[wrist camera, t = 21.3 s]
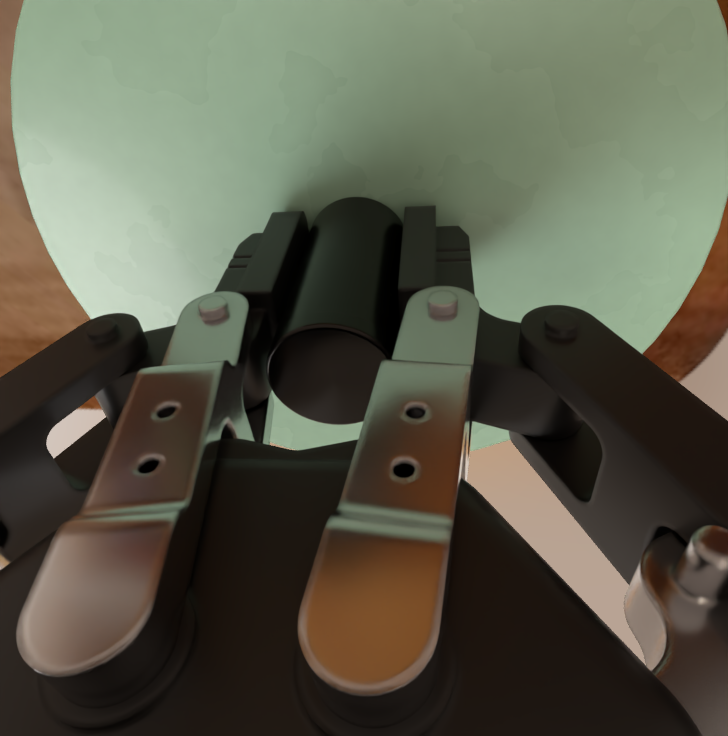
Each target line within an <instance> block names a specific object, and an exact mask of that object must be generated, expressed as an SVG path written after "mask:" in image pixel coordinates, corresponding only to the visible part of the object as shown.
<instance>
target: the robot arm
mask: <svg viewBox="0 0 728 736" xmlns="http://www.w3.org/2000/svg"><path fill="white" fill-rule="evenodd" d="M308 235H309V229H308V223H307V218H306V215H305V213H304V211H291V212H273V213H272V214H271V216H270V218H269V220H268V223H267V225H266V227H265V229H264V231H263V233H253V234H251V235H250V236H249V237H247V238H246V239H245V240H244V241H242V242H241V243H240V244H239V245H238V247H237V249H236V251H235V253H234V255H233V259H231V261H230V262H229V264H228V268H226V270H225V272H224V274H223V276H222V278H221V280H220V282H219V284H218V286H217V288H216V290H215V291H214V292H213V293H209V294H206V295H203V296H200V297H198V298H196V299H194V300H192V301H191V302H190V303H188V304H187V305H186V306H185V307H184V308H183V309H182V311H181V313H180V316H179V318H178V321H177V324H176V325H173V326H169V327H164V328H159V329H155V330H150V331H146V332H143V329H142V327H141V325H140V322H139V320H138V319H137V318H136V317H135V316H133V315H130V314H126V313H112V314H106V315H102V316H99V317H96V318H94V319H91V320H89V321H87V322H85V323H84V324H82V325H80V326H79V327H77V328H76V329H74V330H73V331H71V332H70V333H68V334H67V335H65V336H64V337H62V338H60V339H59V340H57V341H56V342H54V343H53V344H51V345H50V346H48V347H47V348H45V349H44V350H42V351H40V352H39V353H37V354H36V355H34V356H33V357H31V358H30V359H28V360H27V361H25V362H24V363H22V364H20V365H19V366H17V367H16V368H14V369H13V370H11V371H10V372H8V373H7V374H5V375H4V376H2V377H1V378H0V736H728V421H727V420H726V419H725V418H723V417H722V416H721V415H719V414H718V413H717V412H715V411H714V410H713V409H712V408H710V407H709V406H708V405H707V404H705V403H704V402H703V401H701V400H700V399H699V398H698V397H696V396H695V395H694V394H692V393H691V392H690V391H689V390H687V389H686V388H685V387H684V386H682V385H681V384H680V383H678V382H677V381H676V380H675V379H673V378H672V377H671V376H669V375H668V374H667V373H666V372H664V371H663V370H662V369H660V368H659V367H658V366H657V365H655V364H654V363H653V362H652V361H650V360H649V359H648V358H646V357H645V356H644V355H643V354H641V353H640V352H639V351H637V350H636V349H635V348H634V347H632V346H631V345H630V344H628V343H627V342H626V341H625V340H623V339H622V338H621V337H619V336H618V335H617V334H616V333H614V332H613V331H612V330H611V329H609V328H608V327H607V326H605V325H604V324H603V323H602V322H600V321H599V320H598V319H596V318H595V317H594V316H592V315H591V314H589V313H588V312H586V311H584V310H581V309H578V308H575V307H571V306H565V305H547V306H542V307H538V308H535V309H533V310H531V311H529V312H528V313H527V314H526V315H525V316H524V317H523V318H522V321H521V323H519V322H514V321H508V320H504V319H500V318H497V317H495V316H493V315H490V314H489V313H487V312H485V311H484V310H483V309H482V308H481V307H480V306H479V301H478V299H477V298H476V297H475V292H474V282H473V272H472V262H471V252H470V242H469V236H468V235H467V234H466V233H465V232H464V231H463V230H462V229H461V228H460V227H459V226H436V205H434V206H411V207H405V210H404V222H403V234H402V246H401V258H400V270H399V282H398V298H399V315H400V331H399V334H398V338H397V342H396V345H395V349H394V353H393V356H392V359H383V360H382V362H381V364H380V367H379V371H378V374H377V377H376V381H375V384H374V387H373V391H372V394H371V398H370V401H369V404H368V408H367V411H366V415H365V418H364V421H363V425H362V428H361V432H360V435H359V438H358V440H352V441H347V442H341V443H336V444H331V445H325V446H320V447H315V448H310V449H304V450H289V449H284V448H280V447H276V446H271V445H269V444H270V436H271V428H272V420H273V412H274V399H273V395H272V392H271V391H272V389H271V387H270V385H269V382H268V379H267V374H266V360H267V356H268V353H269V350H270V347H271V344H272V341H273V338H274V335H275V332H276V329H277V326H278V323H279V320H280V318H281V315H282V312H283V309H284V306H285V303H286V300H287V297H288V294H289V291H290V288H291V285H292V282H293V279H294V276H295V274H296V271H297V268H298V265H299V262H300V259H301V256H302V253H303V250H304V247H305V244H306V241H307V238H308ZM94 395H95V397H96V399H97V400H98V402H99V404H100V406H101V408H102V410H103V411H104V413H105V415H106V418H104V419H103V420H102V421H101V422H99V423H98V424H97V425H96V426H94V427H93V428H92V429H91V430H89V431H88V432H87V433H86V434H84V435H83V436H82V437H81V438H79V439H78V440H77V441H75V442H74V443H73V444H72V445H71V446H69V447H68V448H67V449H65V450H64V451H63V452H62V453H61V454H59V455H58V456H57V457H56V458H54V459H53V457H52V456H51V454H50V453H49V451H48V449H47V446H46V440H47V436H48V434H49V432H50V430H51V429H52V428H53V427H54V426H55V425H56V424H57V423H58V422H60V421H61V420H62V419H64V418H65V417H66V416H68V415H69V414H70V413H72V412H73V411H74V410H76V409H77V408H78V407H80V406H81V405H82V404H84V403H85V402H86V401H88V400H89V399H90V398H92V397H93V396H94ZM473 422H477V423H481V424H485V425H489V426H493V427H497V428H500V429H504V430H508V431H509V437H510V439H511V441H512V443H513V444H514V445H515V447H516V448H517V449H518V450H519V452H520V453H521V454H522V455H523V456H524V458H525V459H526V460H527V461H528V462H529V464H530V465H531V466H532V467H533V468H534V470H535V471H536V472H537V473H538V475H539V476H540V477H541V478H542V480H543V481H544V482H545V483H546V484H547V486H548V487H549V488H550V489H551V491H553V493H554V494H555V495H556V496H557V498H558V499H559V500H560V501H561V503H562V504H563V505H564V506H565V507H566V509H567V510H568V511H569V512H570V514H571V515H572V516H573V517H574V519H575V520H576V521H577V522H578V523H579V524H580V526H581V527H582V528H583V529H584V531H585V532H586V533H587V534H588V536H589V537H590V538H591V539H592V540H593V542H594V543H595V544H596V545H597V546H598V548H599V549H600V550H601V551H602V553H603V554H604V555H605V556H606V557H607V559H608V560H609V561H610V562H611V563H612V565H613V566H614V567H615V568H616V570H617V571H618V572H619V573H620V574H621V576H622V577H623V578H624V579H625V580H626V582H627V583H628V584H629V587H628V590H627V592H626V595H625V600H624V612H625V616H626V620H627V622H628V625H629V627H630V629H631V631H632V632H633V634H634V636H635V638H636V639H637V641H638V643H639V644H640V646H641V649H642V651H643V654H644V658H645V662H646V665H645V664H644V663H643V662H642V661H641V660H640V659H639V658H638V657H637V656H636V655H635V654H634V653H633V652H632V651H631V650H630V649H629V648H628V647H627V646H626V645H625V644H624V643H623V642H622V640H620V639H619V638H618V636H617V635H616V634H615V633H614V632H613V631H612V630H611V629H610V628H609V627H608V626H607V625H606V624H605V623H604V622H603V621H602V620H601V619H600V618H599V617H598V616H597V614H596V613H595V612H594V611H593V610H592V609H591V608H590V607H589V606H588V605H587V604H586V603H585V602H584V601H583V600H582V599H581V598H580V597H579V596H578V595H577V594H576V593H575V592H574V591H573V590H572V588H570V586H569V585H567V583H566V582H565V581H564V580H563V579H562V578H561V577H560V576H559V575H558V574H557V573H556V572H555V571H554V570H553V569H552V568H551V567H550V566H549V565H548V564H547V562H546V561H545V560H544V559H543V558H542V557H541V556H540V555H539V554H538V553H537V552H536V551H535V550H534V549H533V548H532V547H531V546H530V545H529V544H528V543H527V542H526V541H525V540H524V539H523V538H522V537H521V535H520V534H519V533H518V532H517V531H516V530H515V529H514V528H513V527H512V526H511V525H510V524H509V523H508V522H507V521H506V520H505V519H504V518H503V517H502V516H501V515H500V514H499V513H498V512H497V511H496V509H495V508H494V507H493V506H492V505H491V504H490V503H489V502H488V501H487V500H486V499H485V498H484V497H483V496H482V495H481V494H480V493H479V492H478V491H477V490H476V489H475V488H474V487H472V486H471V485H470V484H469V483H468V482H467V476H468V465H469V456H470V446H471V436H472V426H473Z"/></svg>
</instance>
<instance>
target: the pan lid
mask: <svg viewBox="0 0 728 736" xmlns="http://www.w3.org/2000/svg"><path fill="white" fill-rule="evenodd" d="M11 109H12V130H13V136H14V142H15V148H16V154H17V160H18V166H19V172H20V176H21V179H22V183H23V186H24V189H25V193H26V196H27V199H28V203H29V206H30V209H31V213H32V216H33V218H34V220H35V223H36V225H37V227H38V230H39V232H40V234H41V237H42V239H43V241H44V243H45V246H46V248H47V250H48V253H49V255H50V256H51V258H52V260H53V262H54V263H55V265H56V267H57V269H58V270H59V272H60V274H61V276H62V277H63V279H64V281H65V283H66V284H67V286H68V288H69V289H70V291H71V292H72V293H73V295H74V296H75V298H76V299H77V300H78V302H79V303H80V304H81V306H82V307H83V309H84V310H85V311H86V313H87V314H88V316H89V317H90V318H91V319H94V318H96V317H99V316H102V315H106V314H112V313H126V314H130V315H133V316H135V317H136V318H137V319H138V320H139V322H140V325H141V327H142V329H143V332H146V331H150V330H155V329H159V328H164V327H169V326H173V325H176V324H177V321H178V318H179V316H180V313H181V311H182V309H183V308H184V307H185V306H186V305H187V304H188V303H190V302H191V301H192V300H194V299H196V298H198V297H200V296H203V295H206V294H209V293H213V292H214V291H215V290H216V288H217V286H218V284H219V282H220V280H221V278H222V276H223V274H224V272H225V270H226V268H228V264H229V262H230V261H231V259H233V255H234V253H235V251H236V249H237V247H238V245H239V244H240V243H241V242H242V241H244V240H245V239H246V238H247V237H249V236H250V235H251V234H253V233H263V231H264V229H265V227H266V225H267V223H268V220H269V218H270V216H271V214H272V213H273V212H291V211H304V213H305V215H306V218H307V223H308V229H309V235H308V238H307V241H306V244H305V247H304V250H303V253H302V256H301V259H300V262H299V265H298V268H297V271H296V274H295V276H294V279H293V282H292V285H291V288H290V291H289V294H288V297H287V300H286V303H285V306H284V309H283V312H282V315H281V318H280V320H279V323H278V326H277V329H276V332H275V335H274V338H273V341H272V344H271V347H270V350H269V353H268V356H267V360H266V374H267V379H268V382H269V385H270V387H271V389H272V391H271V392H272V395H273V399H274V412H273V420H272V428H271V436H270V442H271V443H274V444H277V445H280V446H284V447H286V448H290V449H295V450H304V449H310V448H315V447H320V446H325V445H331V444H336V443H341V442H347V441H352V440H358V438H359V435H360V432H361V428H362V425H363V421H364V418H365V415H366V411H367V408H368V404H369V401H370V398H371V394H372V391H373V387H374V384H375V381H376V377H377V374H378V371H379V367H380V364H381V362H382V360H383V359H392V356H393V353H394V349H395V345H396V342H397V338H398V334H399V331H400V315H399V298H398V282H399V270H400V258H401V246H402V234H403V222H404V210H405V207H411V206H434V205H436V226H459V227H460V228H461V229H462V230H463V231H464V232H465V233H466V234H467V235H468V236H469V242H470V252H471V262H472V272H473V282H474V292H475V297H476V298H477V299H478V301H479V306H480V307H481V308H482V309H483V310H484V311H485V312H487V313H489V314H490V315H493V316H495V317H497V318H500V319H504V320H508V321H514V322H519V323H521V321H522V318H523V317H524V316H525V315H526V314H527V313H528V312H529V311H531V310H533V309H535V308H538V307H542V306H547V305H565V306H571V307H575V308H578V309H581V310H584V311H586V312H588V313H589V314H591V315H592V316H594V317H595V318H596V319H598V320H599V321H600V322H602V323H603V324H604V325H605V326H607V327H608V328H609V329H611V330H612V331H613V332H614V333H616V334H617V335H618V336H619V337H621V338H622V339H623V340H625V341H626V342H627V343H628V344H630V345H631V346H632V347H634V348H635V349H636V350H637V351H639V352H640V353H641V354H642V353H643V352H644V351H645V350H646V349H647V348H648V347H649V346H650V345H651V344H652V343H653V342H654V341H655V340H656V339H657V337H658V336H659V335H660V333H661V332H662V331H663V329H664V328H665V327H666V325H667V324H668V323H669V321H670V320H671V319H672V317H673V316H674V315H675V313H676V312H677V311H678V310H679V308H680V307H681V305H682V303H683V302H684V300H685V298H686V296H687V295H688V293H689V291H690V290H691V288H692V286H693V284H694V283H695V281H696V279H697V278H698V276H699V274H700V272H701V271H702V268H703V266H704V264H705V261H706V259H707V256H708V254H709V252H710V249H711V247H712V245H713V242H714V240H715V237H716V235H717V233H718V230H719V227H720V223H721V220H722V216H723V212H724V208H725V205H726V201H727V197H728V35H727V30H726V24H725V21H724V19H723V16H722V13H721V10H720V8H719V5H718V2H717V0H24V2H23V6H22V10H21V13H20V17H19V21H18V25H17V28H16V35H15V44H14V53H13V62H12V72H11ZM508 440H510V437H509V431H508V430H504V429H500V428H497V427H493V426H489V425H485V424H481V423H477V422H473V426H472V436H471V446H470V451H474V450H478V449H482V448H485V447H488V446H491V445H494V444H498V443H501V442H504V441H508Z"/></svg>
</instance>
